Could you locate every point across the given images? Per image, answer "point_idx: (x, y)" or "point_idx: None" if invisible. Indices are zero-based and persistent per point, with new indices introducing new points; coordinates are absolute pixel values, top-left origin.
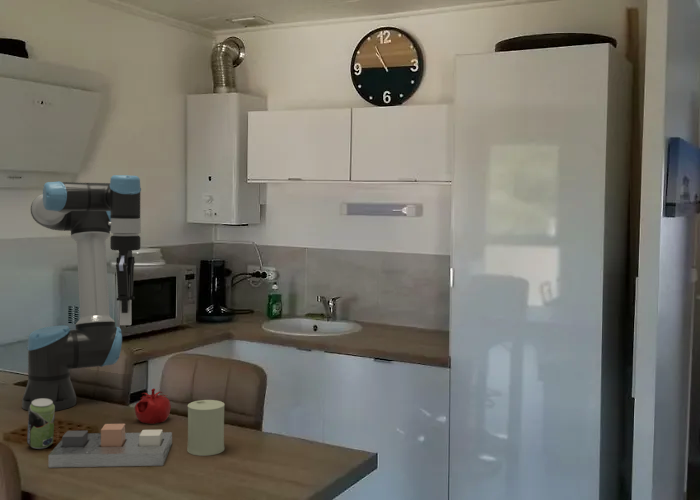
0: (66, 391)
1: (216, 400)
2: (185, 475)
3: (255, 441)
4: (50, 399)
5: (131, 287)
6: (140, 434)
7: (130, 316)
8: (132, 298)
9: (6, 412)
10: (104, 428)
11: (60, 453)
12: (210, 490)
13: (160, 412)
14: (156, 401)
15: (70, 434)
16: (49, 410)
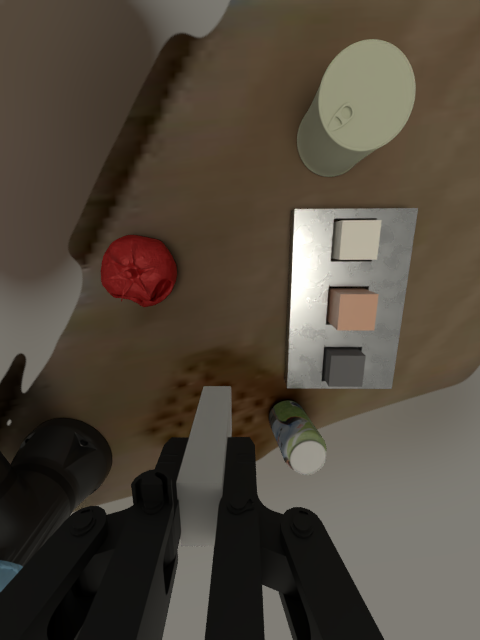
0: (66, 445)
1: (327, 69)
2: (461, 163)
3: (289, 27)
4: (96, 458)
5: (102, 601)
6: (369, 258)
7: (226, 410)
8: (170, 484)
9: (116, 499)
10: (367, 325)
11: (387, 373)
12: None
13: (168, 251)
14: (152, 262)
15: (350, 377)
16: (318, 435)
